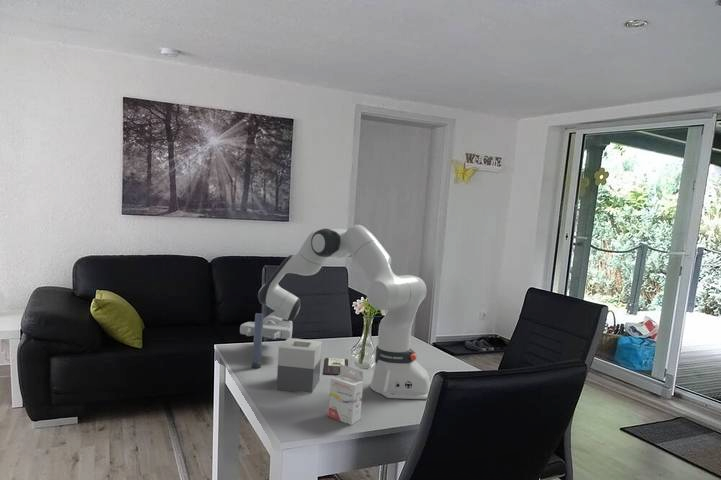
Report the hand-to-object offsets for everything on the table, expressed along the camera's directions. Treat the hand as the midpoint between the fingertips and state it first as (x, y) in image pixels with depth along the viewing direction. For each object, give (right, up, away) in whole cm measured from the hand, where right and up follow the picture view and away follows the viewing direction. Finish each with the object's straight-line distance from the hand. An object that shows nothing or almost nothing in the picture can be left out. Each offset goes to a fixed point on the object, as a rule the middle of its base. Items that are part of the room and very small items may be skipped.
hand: (260, 335), depth 183 cm
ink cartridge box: (+33, -16, -42) cm, 55 cm away
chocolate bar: (+28, -13, +3) cm, 31 cm away
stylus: (-1, -11, -4) cm, 12 cm away
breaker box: (+16, -13, -18) cm, 28 cm away
